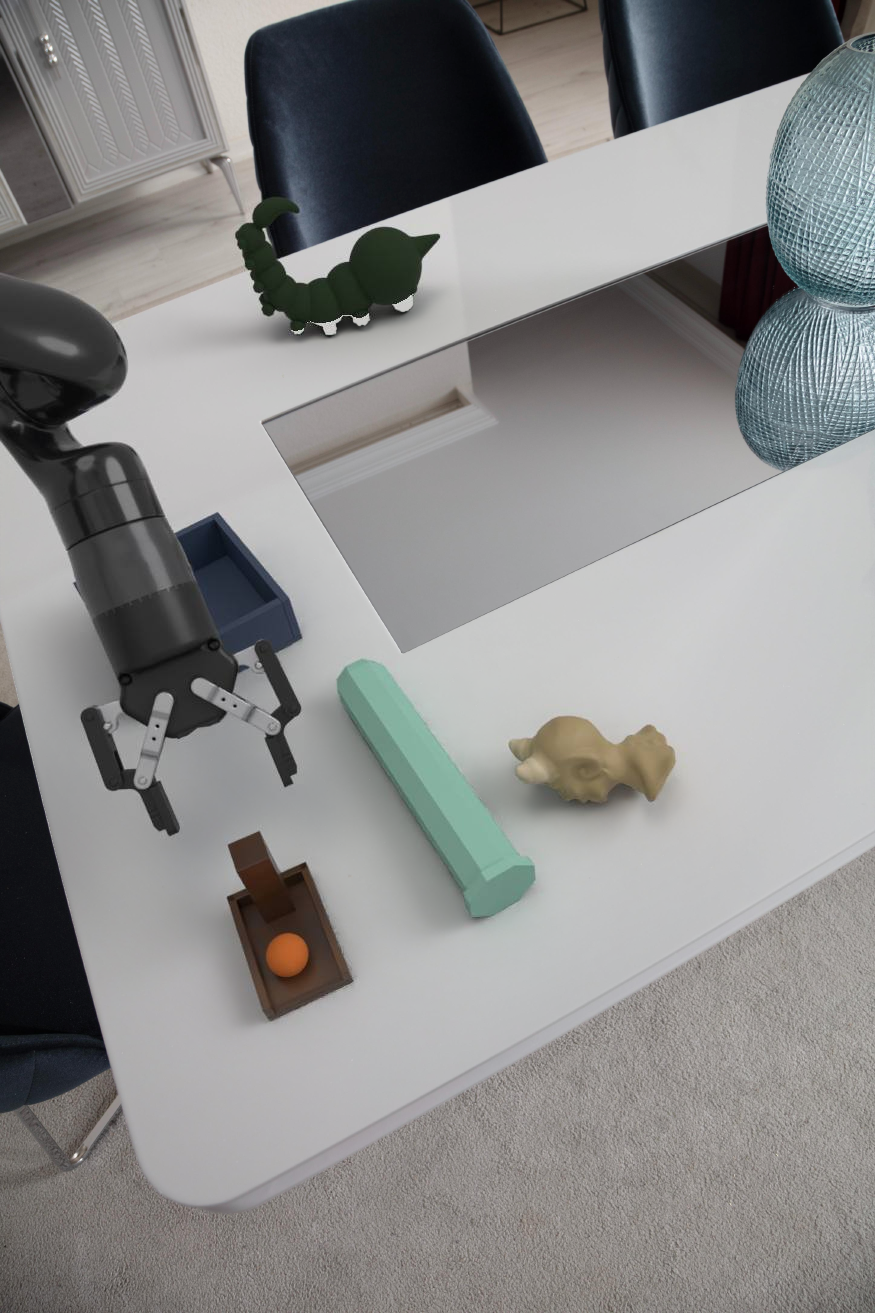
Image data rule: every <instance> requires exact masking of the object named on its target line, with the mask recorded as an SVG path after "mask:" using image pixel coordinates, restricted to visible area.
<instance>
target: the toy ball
mask: <svg viewBox="0 0 875 1313" xmlns="http://www.w3.org/2000/svg"><path fill="white" fill-rule="evenodd" d="M266 961H267V964H268V966H269V968H270V969H271V971H272V972H273V973H275V974H276V975H278V976H281V977H291V976H294V975H296V974H298V973H299V972H301V971H302V970H303V968H304V967H305V965H306V963H307V961H308V948H307V945H306V943H305V941H304V940H303V939H302V938H301V937H299V936H298V935H295V934H292V933H285V934H281V935H279V936H277V937H276V938H274V939H273V940H272V941H271V943H270V944H269V946H268V948H267V952H266Z"/></svg>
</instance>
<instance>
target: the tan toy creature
mask: <svg viewBox="0 0 875 1313" xmlns="http://www.w3.org/2000/svg"><path fill="white" fill-rule="evenodd" d="M508 748H509V751H510V752H511V754H512V756H514V757H515V759H517V760H518V761H519V762H521V763H520V764H518V765H516V766H515V767H514V770H513V771H514V775H515V776H516V778H517V779H518V780H520V781H521V782H523V783H525V784H527V785H536V784H546V785H547V787H548V788H550V789H553V790H555V791H556V792H557V793H558V794H559V795H560V796H561V798H562V799H563V800H564V802H570V801H571V800H574V799H575V800H577V801H579V802H581V803H582V804H586V803H587V802H588V801H590V802H592V803H593V802H595V803H597V804H602V803H604V802H606V801H607V799H608V794H609V792H610V791H611V790H612V789H613V788H614V787H615V786H617V785H618V784H623V785H625V786H628V787H629V788H632V789H634V790H635V791H636V792H639V793H641V794H643V795H644V796H645V797H646V799H647V801H649V803H654V802H655V801H656V799H657V797H658V796H659V794H660V793H661V790H662V788H663V787H664V785H665V783H666V782H667V779H668V778H669V776H670V774H671V772H672V771H673V769H674V767H675V765H676V762H677V760H676V752H675V749H674V747H673V746H671V745H669V744H668V742H667V738H666V736H665V735H664V733H661V732H660V731H658V729H657V728H656V727H655V726H654V725H653V724H646V725H644V726H643V727H642V728H641V729H640V730H639V731H637V732H636V733H634V734H629V735H627V736H626V737H625V738H624V739H623V740H622V741H621V742H619V743H617V744H615V743H613V742H611V741H610V740H608V739H606V737H605V736H603V734H602V733H601V732H600V730H599V729H598V728H597V726H595V724H594V723H592V722H591V721H590V720H588V719H586V718H585V717H582V716H581V717H580V716H576V715H560V716H556V717H554V718H552V719H550V720H548V721H547V722H545V723H544V724H543V725H541V727H540V728H539V729H538V730H537V732H536V734H535V735H534V736H532V737H522V738H513V739H510V740H509V741H508Z"/></svg>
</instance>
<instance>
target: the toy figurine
mask: <svg viewBox="0 0 875 1313" xmlns="http://www.w3.org/2000/svg"><path fill="white" fill-rule="evenodd" d="M288 212H289V213H294V214H296V215H297V214H299V213H300V212H301V211H300V208H299V206H298V205H297V204H296V202H294V201H292V200H291V199H288V198H286V197H281V196H271V197H269V198H265V199H263V200H261V201H260V202H259V203H258V204H257V205H256V206H255V207H254V208H253V211H252V216H251V219H252V222H244V223H243V224H241V226H240V227H238V229H237V230H236V231H235V233H234V239H235V240H236V242H237V243H236V246H237V247H238V249H239V250H241V255H242V258H243V261H244V267H245V269H246V270H247V271H250V273H249V276H250V279H251V280H252V281H253V285H252V289H253V291H254V293H256V294H258V295H259V297H258V301H259V303H260V304H261V309H260V311H261V312H262V315H263V316H266V317H268V318H269V317H271V316H274V314H275V312H278V313H280V312H281V313H284V316H285V317H286V318H287V317H288V318H287V319H288V320H290V322H289V328H291V329H290V331H291V330H293V331H298V330H302V329H303V328H304V327H305V328H306V324H305V323H307V322H310V321H311V322H314V323H326V322H331V321H334V320H336V319H338V318H340V317H341V316H342V315H352V316H353V317H356V318H362V317H364V316H366V315H367V314H368V313H369V311H370V309H371V308H372V307H373V305H374V304H375V305H379V306H392V304H397V303H399V302H401V301H403V300H405V299H407V298H408V297H409V296H410V295H412V294H413V295H415V294H416V293H417V292H418V285H419V283H420V280H421V276H422V271H423V259H424V258H425V256H426V255H427V254H428V253H429V252H430V251H431V250H432V249H433V247H434V246H435V245H436V244H437V243H438V242H439V240H440V239H441V234H440V233H430V234H423V235H422V234H421V235H415V236H411V235H410V234H407V233H406V232H405V231H403V230H400V229H398V228H396V227H392V226H378V227H375V228H372V229H371V228H370V230H368V231H366V232H365V233H363V234H362V235H360V237H359V238H358V239H357V240H356V242H355V243H354V245H353V246H352V249H351V251H350V254H349V259H348V261H343V262H340V263H338V264H336V265H335V266H333V267H332V268H331V269H330V270H329V272H328V273H327V276H326V277H318V278H314V279H312V280H310V281H309V282H308V283H305V282H297V281H296V280H295V279H294V277H292V276H290V275H288V274H287V271H286V268H285V266H284V265H283V263H282V261H280V260H278V259H277V258H276V251H275V249H274V247H273V245H272V244H271V243H270V242H269V241H268V240H266V239H267V238H266V233H265V231H264V229H267V228H268V227H269V226H271V224H272V223H273V222H274V220H275V219H276V218H277V217H278V216H280V215H282V214H284V213H288ZM370 307H371V308H370ZM369 308H370V309H369ZM368 309H369V311H368ZM307 324H308V323H307Z"/></svg>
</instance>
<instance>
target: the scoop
mask: <svg viewBox="0 0 875 1313" xmlns="http://www.w3.org/2000/svg"><path fill="white" fill-rule="evenodd" d="M227 848H228V851H229V855H230V857H231V861H232V863H233V866H234V870H235V872H236V874H237V876H238V877H239V880H240V881H241V883H242V884H243V886H244V888H243V889H240V890H239V891H236V892H234V893H232V894H230V895H227V896H226V900H227V903H228V907H229V910H230V913H231V916H232V918H233V923H234V925H235V929H236V931H237V934H238V938H239V941H240V944H241V948H242V950H243V954H244V956H245V961H246V963H247V966H248V969H249V973H250V976H251V978H252V982H253V985H254V988H255V992H256V994H257V998H258V1000H259V1003H260V1008H261V1010H262V1012H263V1013H264V1015H265V1016H266V1018H267V1019H268V1021H270V1022H271V1021H274V1020H276V1019H278V1018H280V1017H282V1016H284V1015H286V1014H289V1013H290V1012H293V1011H294V1010H297V1009H300V1008H301V1007H303V1006H305V1005H307V1004H309V1003H312V1002H314V1001H316V1000H318V999H320V998H322V997H324V996H326V995H329V994H330V993H333V992H335V991H336V990H339V989H341V988H343V987H345V986H347V985H349V984H351V983H353V982H354V979H353V975H352V973H351V971H350V969H349V966H348V964H347V961H346V958H345V956H344V953H343V951H342V948H341V946H340V943H339V941H338V938H337V934H336V933H335V931H334V928H333V925H332V922H331V920H330V918H329V915H328V913H327V909H326V908H325V905H324V903H323V900H322V897H321V895H320V892H319V889H318V887H317V885H316V884H317V883H316V881H315V879H314V877H313V874H312V873H311V872H312V871H311V870H310V868H309V865H308V863H307V862H306V861H304V862H302V863H300V864H296V865H294V866H293V867H290V868H288V869H286V870H284V871H282V872H281V870H280V868H279V866H278V864H277V862H276V860H275V858H274V856H273V854H272V852H271V850H270V848H269V847H268V844H267V842H266V840H265V838H264V836H263V834H262V833H261V831H260V830H258V831H256V832H254V833H251V834H248V835H246V836H244V837H242V838H240V839H236V840H235V841H232V842H230V843H229V844H227ZM285 933H292V934H295V935H298V936H299V937H301V938H302V939H303V940H304V941H305V943H306V945H307V948H308V961H307V963H306V965H305V967H304V968H303V970H302V971H301V972H299V973H298V974H296V975H294V976H291V977H281V976H278V975H276V974H275V973H273V972H272V971H271V969H270V968H269V966H268V964H267V961H266V952H267V948H268V946H269V944H270V943H271V941H272V940H273V939H274V938H276V937H277V936H279V935H281V934H285Z"/></svg>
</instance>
